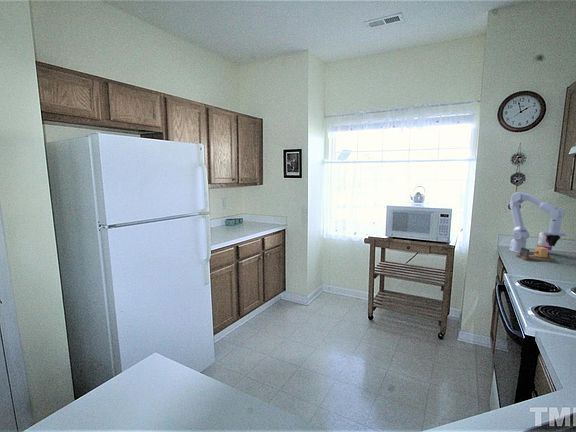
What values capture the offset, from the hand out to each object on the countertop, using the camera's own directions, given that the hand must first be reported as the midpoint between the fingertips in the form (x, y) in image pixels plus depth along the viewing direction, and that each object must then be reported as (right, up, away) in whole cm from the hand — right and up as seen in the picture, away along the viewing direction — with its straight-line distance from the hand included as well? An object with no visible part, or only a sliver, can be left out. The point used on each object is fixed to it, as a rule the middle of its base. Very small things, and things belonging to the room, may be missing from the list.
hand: (551, 245), depth 210 cm
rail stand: (-10, -9, +2) cm, 13 cm away
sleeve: (-6, -7, +1) cm, 10 cm away
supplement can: (+9, -7, +18) cm, 21 cm away
